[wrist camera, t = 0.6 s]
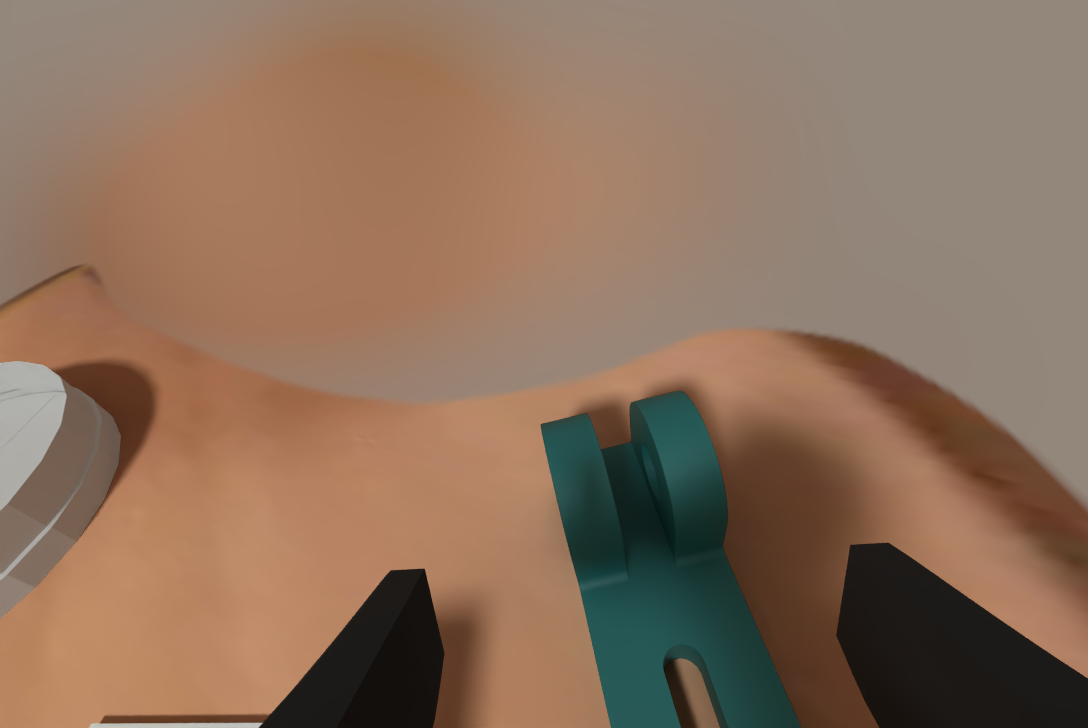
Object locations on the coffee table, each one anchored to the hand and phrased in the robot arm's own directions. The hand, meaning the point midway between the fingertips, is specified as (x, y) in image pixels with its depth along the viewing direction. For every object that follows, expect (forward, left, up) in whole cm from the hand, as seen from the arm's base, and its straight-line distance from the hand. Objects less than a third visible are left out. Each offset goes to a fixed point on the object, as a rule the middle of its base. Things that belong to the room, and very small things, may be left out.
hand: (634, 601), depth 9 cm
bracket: (+4, -1, -17) cm, 18 cm away
